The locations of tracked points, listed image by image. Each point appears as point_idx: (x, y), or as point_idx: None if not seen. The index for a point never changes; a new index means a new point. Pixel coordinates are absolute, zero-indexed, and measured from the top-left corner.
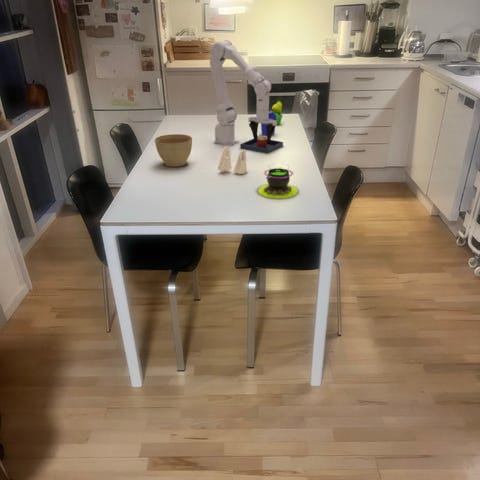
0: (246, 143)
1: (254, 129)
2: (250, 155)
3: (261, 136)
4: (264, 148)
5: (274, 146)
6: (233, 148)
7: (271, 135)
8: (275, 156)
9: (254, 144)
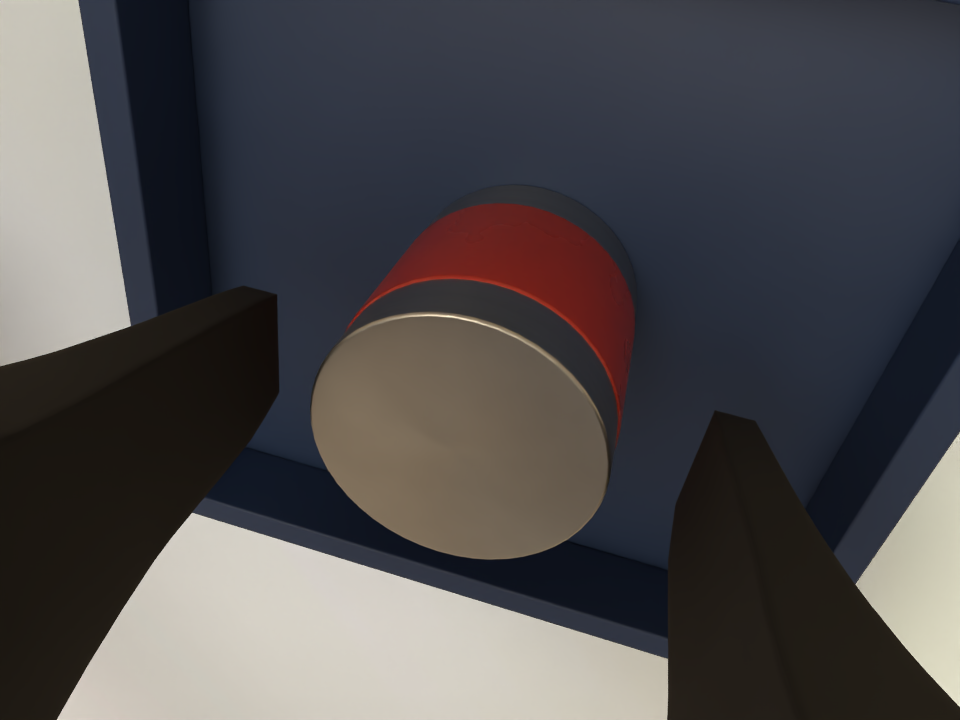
0: None
1: (110, 580)
2: (513, 673)
3: (434, 445)
4: None
5: (909, 496)
6: None
7: (803, 523)
8: (955, 689)
9: (266, 135)
